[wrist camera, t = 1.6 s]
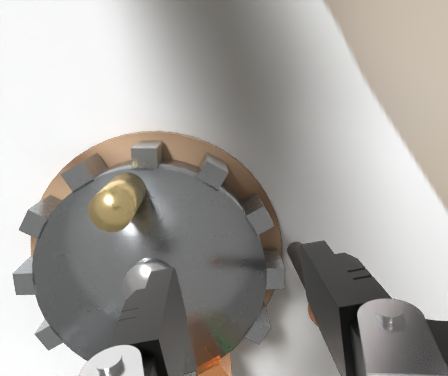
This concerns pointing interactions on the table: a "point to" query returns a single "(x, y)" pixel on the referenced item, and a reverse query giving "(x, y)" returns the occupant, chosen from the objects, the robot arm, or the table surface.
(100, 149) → the sprocket base
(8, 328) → the table surface
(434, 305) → the table surface
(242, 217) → the sprocket wheel
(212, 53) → the table surface
